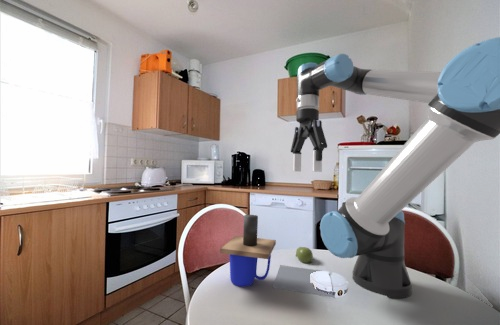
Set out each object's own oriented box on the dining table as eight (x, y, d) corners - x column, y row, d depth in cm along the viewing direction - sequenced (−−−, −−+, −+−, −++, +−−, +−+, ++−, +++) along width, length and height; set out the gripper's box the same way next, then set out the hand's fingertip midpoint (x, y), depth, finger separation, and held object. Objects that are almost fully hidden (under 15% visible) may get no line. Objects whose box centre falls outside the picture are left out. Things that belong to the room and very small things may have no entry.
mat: (329, 273, 74) (329, 271, 74) (334, 299, 58) (334, 297, 59) (280, 266, 78) (280, 265, 78) (272, 289, 63) (272, 287, 63)
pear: (298, 248, 80) (292, 244, 90) (299, 264, 79) (293, 258, 89) (314, 248, 81) (307, 244, 90) (315, 265, 79) (307, 259, 89)
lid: (275, 244, 70) (276, 214, 71) (268, 259, 58) (269, 222, 58) (235, 239, 74) (236, 210, 74) (220, 253, 61) (221, 218, 62)
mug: (268, 293, 60) (269, 255, 61) (224, 287, 63) (225, 250, 63) (271, 279, 68) (272, 245, 69) (232, 274, 71) (233, 242, 71)
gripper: (283, 117, 90) (281, 171, 89) (317, 97, 66) (316, 171, 65) (300, 119, 92) (299, 171, 91) (340, 100, 68) (339, 172, 67)
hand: (306, 171), depth 78 cm, fingers open, 13 cm apart
